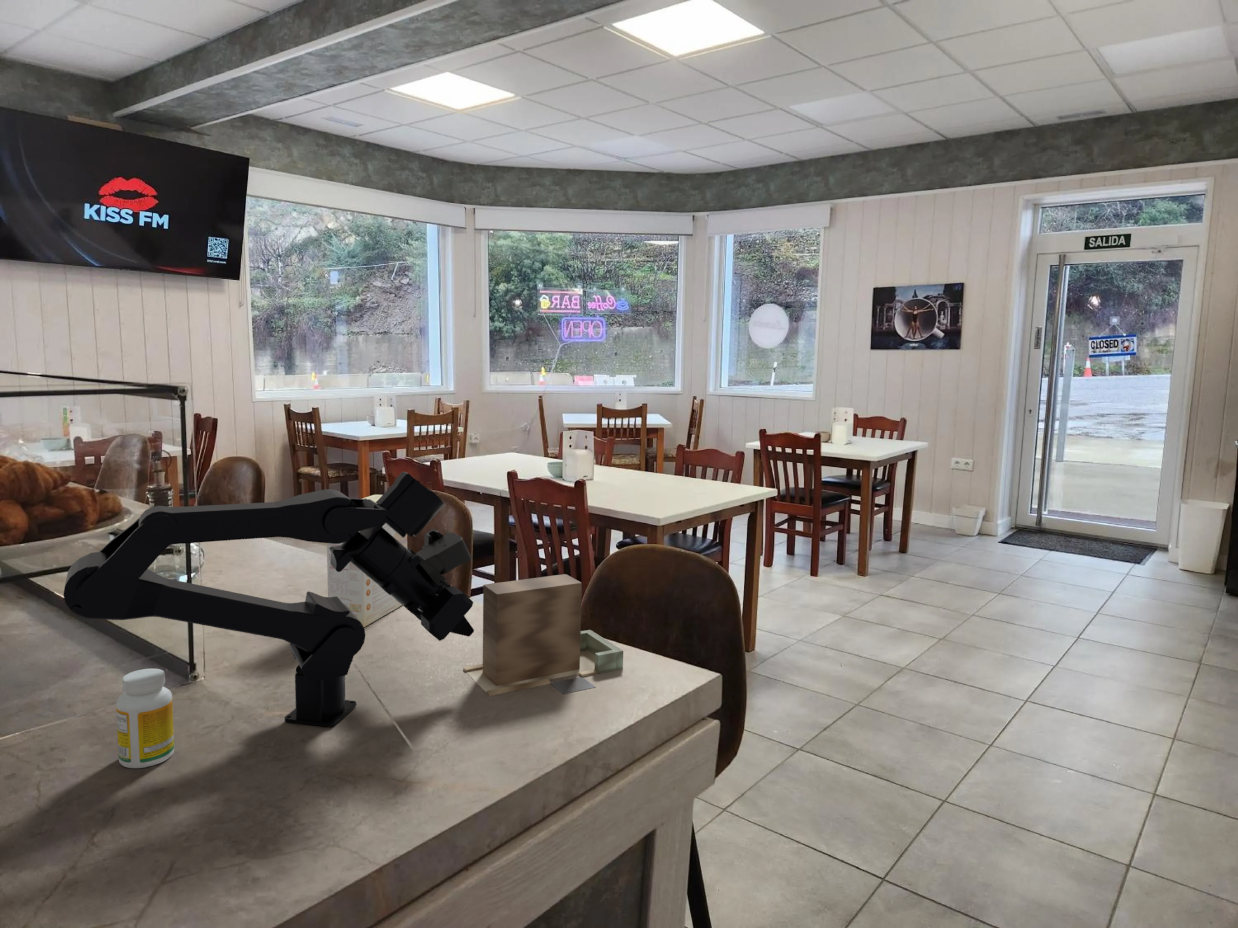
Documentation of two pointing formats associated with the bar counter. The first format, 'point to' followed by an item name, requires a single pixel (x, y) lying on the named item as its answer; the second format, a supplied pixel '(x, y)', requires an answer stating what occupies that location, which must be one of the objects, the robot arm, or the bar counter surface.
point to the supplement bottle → (144, 719)
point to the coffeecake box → (361, 586)
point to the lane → (592, 662)
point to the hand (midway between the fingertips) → (471, 632)
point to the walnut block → (531, 628)
